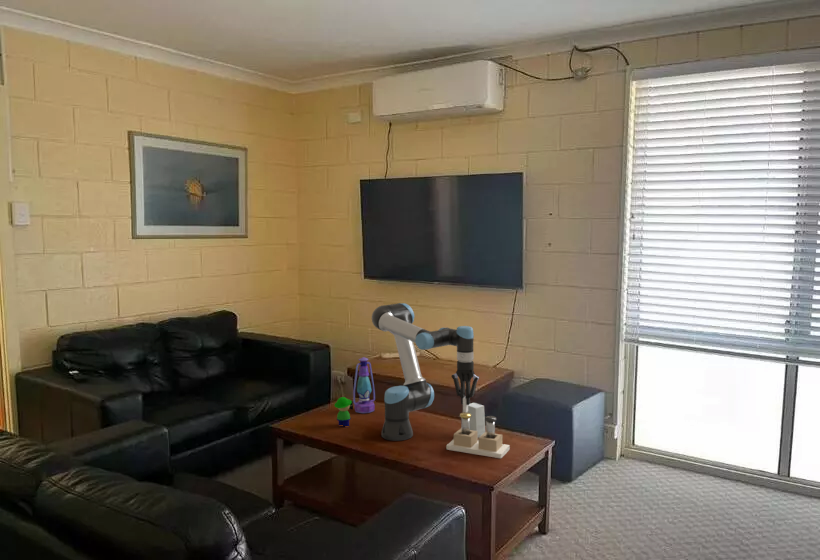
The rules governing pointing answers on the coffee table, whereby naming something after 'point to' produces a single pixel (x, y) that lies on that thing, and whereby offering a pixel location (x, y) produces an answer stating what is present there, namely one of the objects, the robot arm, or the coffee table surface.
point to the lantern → (364, 388)
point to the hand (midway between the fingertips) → (465, 411)
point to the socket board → (478, 444)
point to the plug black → (490, 426)
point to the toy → (343, 410)
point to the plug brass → (465, 423)
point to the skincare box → (477, 418)
